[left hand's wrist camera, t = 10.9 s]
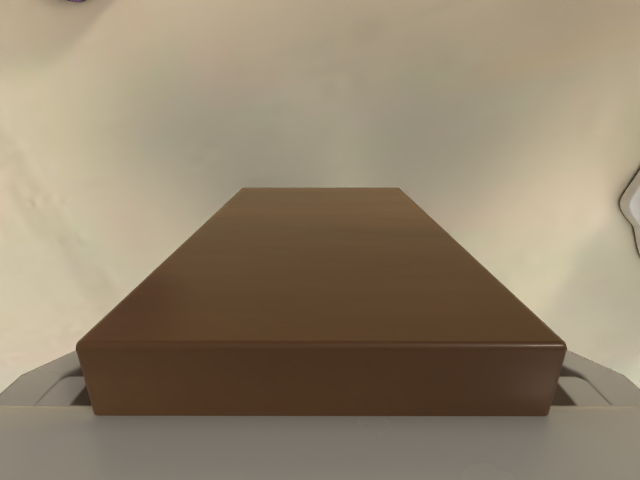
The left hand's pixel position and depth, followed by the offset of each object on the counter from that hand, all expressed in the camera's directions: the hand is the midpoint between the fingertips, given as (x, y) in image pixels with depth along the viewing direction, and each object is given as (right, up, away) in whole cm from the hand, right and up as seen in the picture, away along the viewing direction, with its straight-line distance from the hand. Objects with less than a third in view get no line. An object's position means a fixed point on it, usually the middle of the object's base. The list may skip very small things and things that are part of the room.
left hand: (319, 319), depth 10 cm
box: (0, -8, +8) cm, 12 cm away
